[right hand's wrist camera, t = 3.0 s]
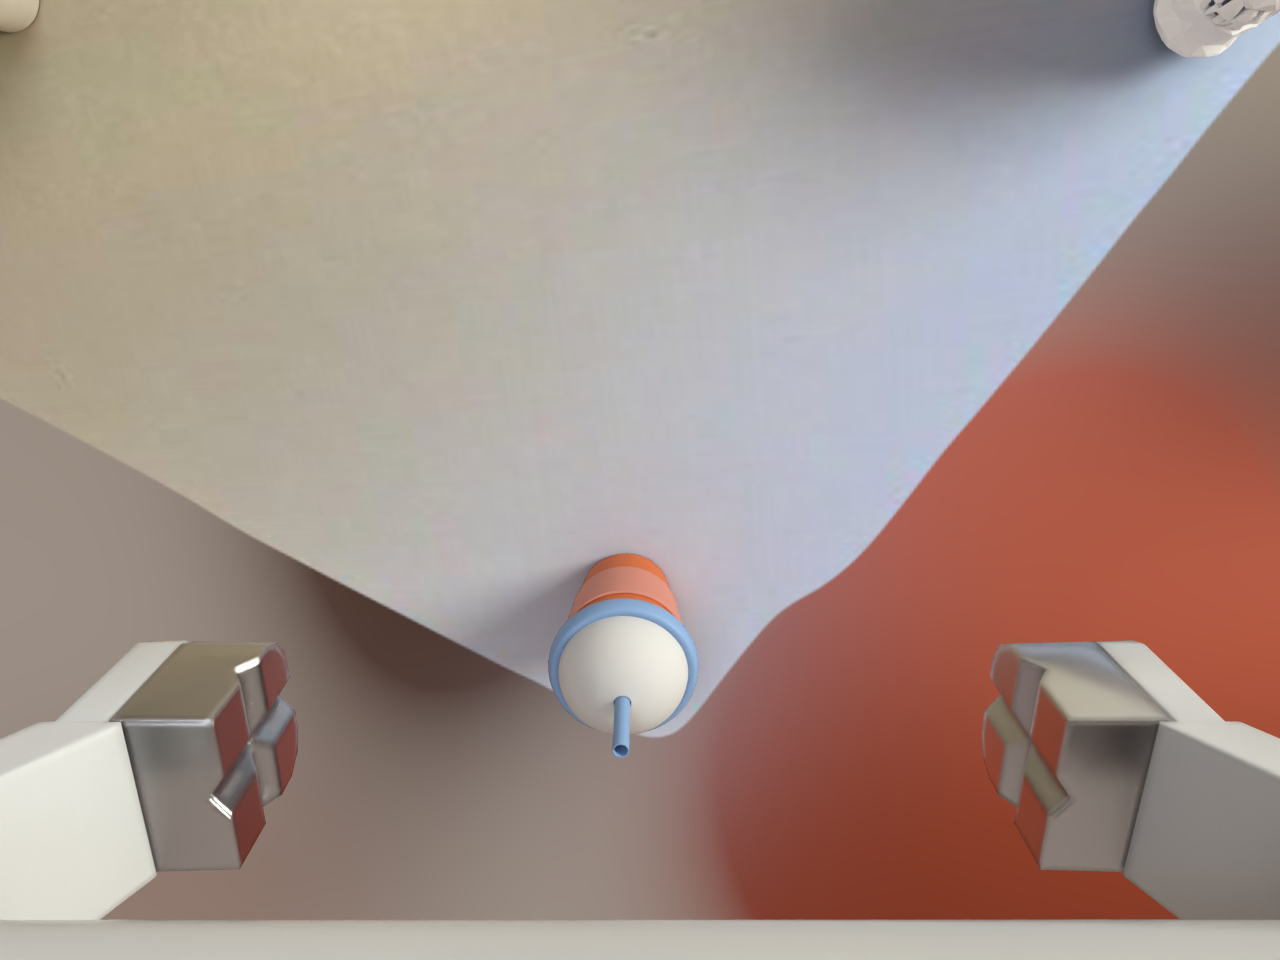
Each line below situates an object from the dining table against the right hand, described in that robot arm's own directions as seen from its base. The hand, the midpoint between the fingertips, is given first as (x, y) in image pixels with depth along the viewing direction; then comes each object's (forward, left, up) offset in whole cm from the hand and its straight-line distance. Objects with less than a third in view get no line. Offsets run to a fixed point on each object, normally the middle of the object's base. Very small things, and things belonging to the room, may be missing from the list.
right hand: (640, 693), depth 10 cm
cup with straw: (+23, -1, -48) cm, 53 cm away
